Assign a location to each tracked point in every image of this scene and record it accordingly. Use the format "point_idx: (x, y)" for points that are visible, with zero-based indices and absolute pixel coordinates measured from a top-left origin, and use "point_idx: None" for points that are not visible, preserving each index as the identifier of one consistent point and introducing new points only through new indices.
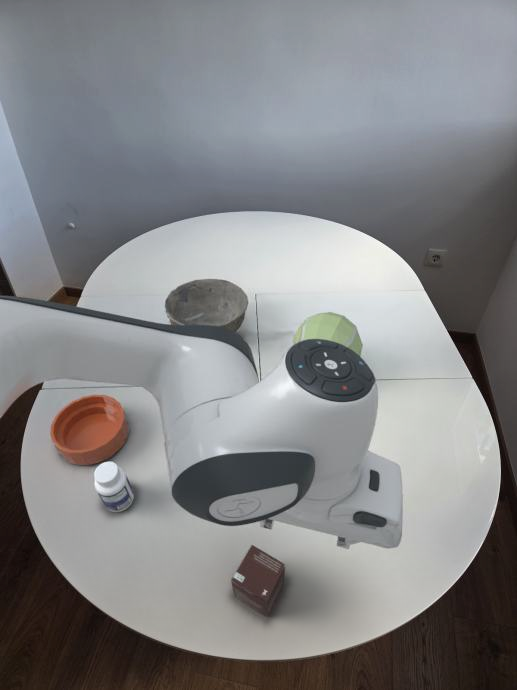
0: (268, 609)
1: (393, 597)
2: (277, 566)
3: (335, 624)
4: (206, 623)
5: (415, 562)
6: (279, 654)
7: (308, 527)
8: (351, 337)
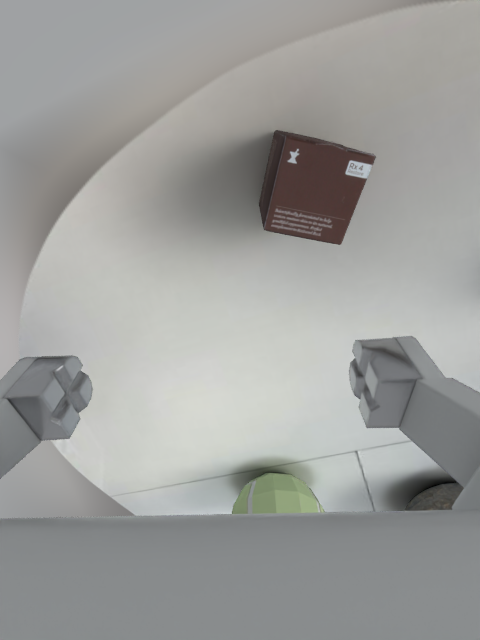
0: (275, 140)
1: (86, 240)
2: (278, 220)
3: (154, 165)
4: (392, 70)
5: (78, 296)
6: (233, 69)
7: (119, 580)
8: None
